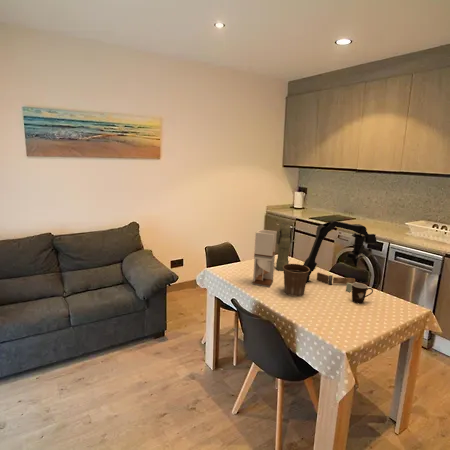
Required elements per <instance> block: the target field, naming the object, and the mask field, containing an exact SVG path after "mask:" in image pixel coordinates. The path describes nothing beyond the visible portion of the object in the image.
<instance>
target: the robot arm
mask: <svg viewBox="0 0 450 450" xmlns="http://www.w3.org/2000/svg"><path fill="white" fill-rule="evenodd" d="M334 228H337V229H338V228H340V229H342V230H349V231H352V232H354V233H353V234H352V235H351V237H353V238H354V241H353V244H352V247H353V249H352V250H351V252H348V253H346V257H347V258H350V259H352V261H353V263H354V267H358V264H359V262H360V260H361V259H362V258H364V257H366V258H369V257H371V255H372V253H373V249H372V248H366V246H365V244H366V245H376V244H377V237H376V234H375V233H368V231H367V230H368V229H367V227H366V226H365V225H363V224H360V223H358V224H357V223H352V224H351V223H347V222H342V221H338V220H335V219H332V220H330V221H328V222H325V223H323V224H321V225H318V226H317V227H316V231H315V239H314V242H313V244H312V248H311V251H310V252H309V256H308V257H307V258H306V260H305V261H304V263H303V265H304V266H306V267H308V268H309V269H310V271H309V273H308V277H307V280H306V284H308V283H311V282H312V281H311V280H310V276H311V274H312V272H313V271H314V270H316V267H317V265H318V263H317V262H316V258H317V256H318V254H319V251H320V248H321V246H322V243H323V240H324V239H325V238H326V237H327V236H328V234H329V232H331V231H332V230H333V229H334Z"/></svg>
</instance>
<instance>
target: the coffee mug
mask: <svg viewBox="0 0 450 450" xmlns="http://www.w3.org/2000/svg"><path fill="white" fill-rule="evenodd" d="M368 290H371V292H370V293H369V294H367V292H368ZM373 292H374V289H373V288H372V287H368V285H367V284H365V283H362V282H355V283H352V292H351V301H352V302H353V303H355V304H358V303H359V304H358V305H362V304H364V302H365V298H366V297H369V296H370V295H372V294H373ZM366 294H367V295H366Z"/></svg>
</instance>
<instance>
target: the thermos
mask: <svg viewBox="0 0 450 450" xmlns="http://www.w3.org/2000/svg"><path fill="white" fill-rule="evenodd" d="M276 231H277V233H276V244H277V259H276V262H275V263H276V264H275V265H276V267H275V268H276V271H280V272H284V269H283V266H284V265H286V264H290V263H289V262H290V261H289V253H290V247H291V243H292V241H293V231H292V229H291V224H290V223H288V222H282V223H281V225H280V226H279V229H278V230H276Z"/></svg>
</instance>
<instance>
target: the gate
mask: <svg viewBox="0 0 450 450" xmlns="http://www.w3.org/2000/svg"><path fill="white" fill-rule="evenodd" d="M347 283H351V284H352V283H356V278H355V277H339V276H338V277H336V276H335V277H334V276H333V279H332V285H333V284H334V285H335V284H336V285H337V284H338V285H347Z"/></svg>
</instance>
